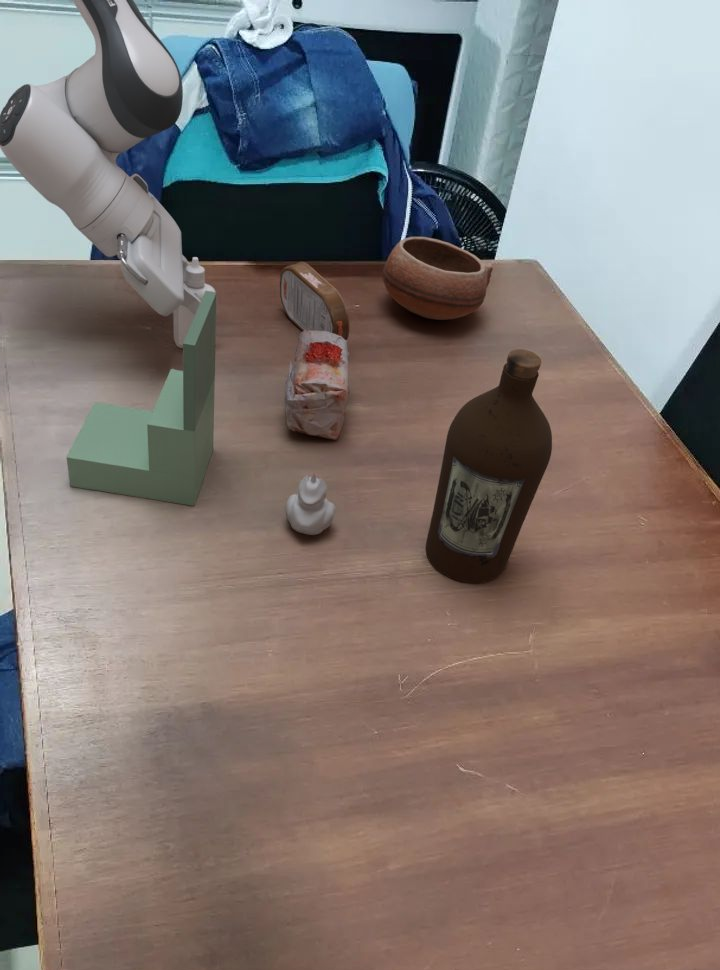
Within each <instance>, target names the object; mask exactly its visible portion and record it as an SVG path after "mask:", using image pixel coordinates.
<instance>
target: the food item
mask: <svg viewBox="0 0 720 970" xmlns="http://www.w3.org/2000/svg"><path fill="white" fill-rule="evenodd" d="M348 343H349V342H348V339H347V340H345V339H344V338H342V337H341V336H339V335H336V334H333V333H330V332H327V331H310V330H306V331H301V332H300V334H299V337H298V343H297V346H296V350H295V353H294V355H295V356H294V362H293V364H292V360H290V362H289V369H288V373H287V377H286V378H287V379H286V380H285V394H284V403H285V404H284V407H285V411H284V412H285V420H286V426H287V428H288V431H290V430H291V431H292V432H298V433H300V434H304V435H308V436H312V437H316V438H317V437H318V438H322V439H323V438H324V439H327V440H336V441H337V439H338V438H339V437H340V434H341V431H342V428H343V426H344V421H345V417H346V411H347V405H348V404H347V403H348V397H349V396H348V395H350V390H349V381H350V380H349V379H350V373H349V371H350V370H349V361H350V352H349V348H348Z"/></svg>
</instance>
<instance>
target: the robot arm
mask: <svg viewBox="0 0 720 970" xmlns="http://www.w3.org/2000/svg"><path fill="white" fill-rule="evenodd" d="M72 3H73V4H74V6H75V7H76V10H77V11H78V12H79V14H80V15H81V17H82V19H83V20H84V22H85V24H86V25H87V27H88V29H89V30H90V32H91V34H92V36H93V39H94V43H95V44H94V45H95V50H94V51H95V52H94V54H93V55H91V57H89V58H88V59H87V60H86V61H85V62H83V63H82V64H81V65H80V66H78V67H76V68H75V69H74V70H72V71H71V72H70V73H68V74H67V75H64V76H62V77H60V78H59V79H57V80H54V81H51V82H48V83H45V84H39V85H33V84H30V83H26V84H23V85H21V86H20V87H19V88H17V89H16V90H15V91H14V92H13V93H12V95H11V96H10V97H9V98H8V99H7V102H6V103H5V105H4V107H2V110H1V111H0V150H1V152H2V154H3V155H4V156H5V158H6V159H7V160H8V162H9V163H10V164H11V165H12V167H14V168H15V170H16V171H17V172H18V173H19V174H20V175H21V176H22V177H23V178H24V179H25V180H26V182H27V183H28V184H29V185H30V186H32V187H33V189H35V191H36V192H37V193H39V194H40V196H42V197H43V198H44V200H46V201H47V202H48V203H50V204H52V205H54V206H56V207H58V209H60V210H62V212H63V213H65V215H66V216H67V217H68V218H69V221H70V222H71V223H72V225H73V226H74V227H75V228H76V229H77V231H78V232H80V233H81V234H82V235H83V236H84V237H86V239H87V240H89V241H90V242H91V243H92V244H93V245H94V246H95V247H96V248H97V249H98V250H99V251H100V252H101V253H102V254H103V255H104V256H105V257H107V258H112V257H114V256H117V258H118V259H119V260H120V271H121V273H122V275H123V278H124V279H125V281H127V283H128V284H129V285H130V286H131V287H132V289H133V290H134V291H135V292H136V293H137V295H139V296H140V297H141V298H142V299H143V300H144V302H146V303H147V304H148V305H149V306H150V307H151V308H152V310H153V311H155V312H156V313H157V314H159V315H161V316H162V317H169V316H170V315H171V314H172V313H173V311H174V310H175V309H177V308H178V307H179V306H180V305H182V306H185V307H187V308H188V309H189V310H190V311H191V312H192V313H193V314H196V312H197V309H198V307H199V305H200V302H201V300H202V299H201V298H200V297H199V296H198V295H197V294H196V293H195V294H193V293H192V292H191V291H189V290H188V289H187V286H186V285H185V283H186V267H187V266H189V265H191V264H190V262H189V260H188V259H187V258H186V256H184V254H183V245H182V241H183V240H182V231H181V229H180V227H179V225H178V224H177V222H176V221H175V220H174V218H173V216H171V214H170V213H169V212H168V211H167V209H165V207H164V206H163V205H162V204H161V203H160V202H159V200H158V199H157V198H156V197H155V196H154V195H153V194H152V193H151V192H150V191H149V185H148V183H147V182H146V181H145V180H144V178H142V177H141V176H140V175H139V174H138V173H133V174H132V175H130V176H129V175H128V174H127V172H126V171H125V170H124V169H123V168H121V167H119V166H118V164H117V158H118V156H119V155H120V154H121V155H122V153H125V152H127V151H128V150H130V149H132V148H133V147H134V146H136V145H137V144H139V143H141V142H142V141H144V140H145V139H147V138H150V137H151V138H152V137H153V136H155V135H157V134H159V133H162V132H164V131H166V130H168V129H170V128H172V127H173V126H175V124H176V123H177V122H178V120H179V117H180V116H181V113H182V108H183V101H184V100H183V99H184V88H183V81H182V75H181V72H180V69H179V66H178V64H177V62H176V60H175V59H174V56H173V55H172V54H171V51H169V49H168V48H167V46H166V45H165V44H164V43H163V41H161V39H160V38H159V37H158V36H157V33H155V32H154V30H153V29H152V28H151V26H150V25H149V23H148V22H147V21H146V19H145V17H144V15H142V13H141V11H140V9H139V8H138V5H137V4H136V2H135V1H134V0H72Z"/></svg>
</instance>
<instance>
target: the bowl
mask: <svg viewBox="0 0 720 970" xmlns="http://www.w3.org/2000/svg"><path fill="white" fill-rule="evenodd" d="M493 270H494V269H493V265H492V263H489V262H485V261H483V260H482V259H480V258H479V257H477V255H476V254H473V253H471V252H469V251H467V250H466V249H464V248H461V247H459V246H456V245H454V244H453V243H450V242H446V241H443V240H440V239H437V238H432V237H427V236H409V237H406V238H403V239H402V240H400V241H399V242H398V243H397V244H396V245H395V246H394V247H393V249H392V250H391V252H390V253H389V255H388V257H387V259H386V261H385V263H384V265H383V270H382V281H383V284H384V287H385V288H386V291H387V292H388V294H389V296H391V298H392V299H393V300H394V301H395V302H397V304H399V305H400V306H401V307H402V308H404V309H406V310H408V311H409V312H411V313H413V314H415V315H418V316H420V317H422V318H426V319H430V320H435V321H436V320H437V321H445V320H446V321H447V320H455V319H459V318H462V317H465V316H468V315H469V314H472V313H475V312H476V311H477V310H478V309H479V308H480V307H481V306H482V305H483V303H484V300H485V298H486V296H487V295H486V294H487V289H488V286H489V284H490V282H491V278H492V272H493Z"/></svg>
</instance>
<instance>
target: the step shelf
mask: <svg viewBox="0 0 720 970" xmlns="http://www.w3.org/2000/svg"><path fill="white" fill-rule="evenodd" d="M217 295H218V293H217V291H215V292H211V291H205V293H204V295H203V298H202V300H201V302H200V305H199V307H198V309H197V312H196V314H195V316H194V319H193V321H192V323H191V326H190V328H189V330H188V333H187V335H186V337H185V340H184V342H183V348H182V370H179V369H173V368H170V370H169V372H168V375H167V376H166V379H165V382H164V384H163V385H162V389H161V391H160V394H159V396H158V398H157V400H156V403H155V405H154V407H153V410H147V409H140V408H134V407H128V406H124V405H116V404H110V403H103V402H98V401H94V403H93V405H92V407H91V409H90V411H89V413H88V415H87V417H86V418H85V420H84V423H83V424H82V426H81V428H80V430H79V432H78V434H77V436H76V438H75V440H74V442H73V444H72V445H71V448H70V450H69V451H68V454H67V455H66V464H67V472H68V480H69V486H70V487H72V488H73V487H74V488H79V489H87V490H91V491H98V492H105V493H111V494H117V495H122V496H128V497H129V496H130V497H134V498H135V497H136V498H141V499H147V500H154V501H155V500H156V501H160V502H166V503H174V504H179V505H185V506H191V507H195V506H196V503H197V500H198V497H199V493H200V490H201V487H202V485H203V481H204V478H205V475H206V472H207V468H208V467H209V464H210V460H211V457H212V455H213V451H214V437H215V435H214V431H215V429H214V428H215V390H216V389H215V386H216V385H215V384H216V343H217V324H216V299H217V300H218V296H217Z"/></svg>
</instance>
